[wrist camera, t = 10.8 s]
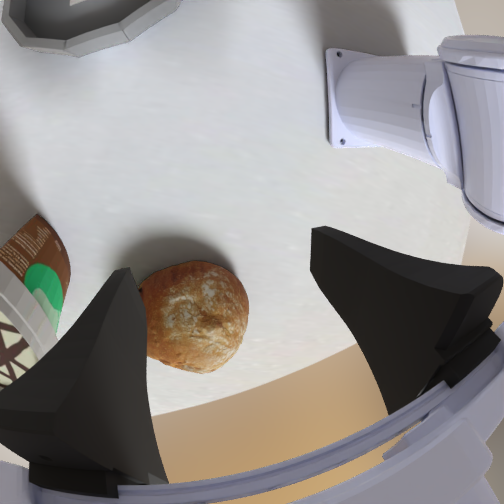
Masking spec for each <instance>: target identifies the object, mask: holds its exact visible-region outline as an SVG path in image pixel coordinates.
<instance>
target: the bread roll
mask: <svg viewBox="0 0 504 504" xmlns="http://www.w3.org/2000/svg"><path fill="white" fill-rule="evenodd" d="M138 291H139V293H140V296H141V298H142V301H143V303H144V306H145V308H146V319H147V356H148V357H150V358H153V359H156V360H159V361H160V362H162V363H163V364H165V365H169V366H172V367H175V368H179V369H182V370H185V371H190V372H195V373H200V374H203V373H209V372H212V371H215V370H217V369H218V368H220V367H222V366H223V365H224V363H226V362H227V361H228V360H229V359H231V358H232V357H233V355H234V354H235V353H236V352H237V350H238V348H239V346H240V344H242V340H243V335H244V333H245V331H246V327H247V323H248V314H249V301H248V297H247V294H246V291H245V289H244V287H243V285H242V283H241V282H240V280H239V279H238V278H237V277H236V276H235V275H233V274H232V273H231V272H229V271H228V270H226V269H225V268H223V267H221V266H218V265H215V264H212V263H208V262H203V261H189V262H186V263H181V264H179V265H175V266H171V267H168V268H166V269H163V270H160V271H157V272H155V273H153V274H151V275H150V276H149V277H148V278H147V279H146V280H144V281H143V282H142V283H141V285H140V287H139V288H138Z"/></svg>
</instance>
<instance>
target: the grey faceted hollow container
mask: <svg viewBox="0 0 504 504" xmlns="http://www.w3.org/2000/svg"><path fill="white" fill-rule="evenodd" d="M181 2H182V0H4V6H3V12H2V23H3V24H4V26H5V27H6V28H7V30H8V31H9V32H10V33H11V35H12V36H13V37H14V39H15V40H16V41H17V43H18V44H19V45H20V46H21V47H25V48H28V49H31V50H35V51H38V52H44V53H53V54H61V55H68V56H74V57H82V56H84V55H87V54H90V53H93V52H96V51H99V50H102V49H105V48H109V47H112V46H116V45H119V44H123V43H127V42H130V41H132V40H133V39H134V38H136V37H137V36H138V35H140V34H141V33H142V32H144V31H145V30H147V29H148V28H150V27H151V26H153V25H154V24H156V23H157V22H159V21H160V20H162V19H163V18H165V17H166V16H168V15H170V14H171V13H173V12H174V11H175V10H176V9H177V8H178V6H179V5H180V3H181Z"/></svg>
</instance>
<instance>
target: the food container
mask: <svg viewBox="0 0 504 504" xmlns="http://www.w3.org/2000/svg"><path fill="white" fill-rule="evenodd" d="M70 275H71V271H70V262H69V257H68V254H67V251H66V249H65V247H64V245H63V242H62V241H61V239H60V238H59V236H58V234H57V233H56V232H55V230H54V229H53V228H52V227H51V226H50V225H49V224H48V223H47V222H46V221H45V220H44V219H43V218H42V217H40V216H39V215H38V214H36V215H35V216H34V217H33V218H32V219H31V220H30V221H29V222H27V223H26V224H25V225H24V226H23V227H22V228H21V229H20V230H19V231H18V232H17V233H16V234H15V235H14V236H13V237H12V238H11V239H10V240H9V241H8V242H7V243H6V244H5V245H4V246H3V247H2V248H1V249H0V391H1V390H2V389H4V388H5V387H6V386H8V385H9V384H11V383H12V382H14V381H15V380H16V379H18V378H19V377H20V376H21V375H23V374H24V373H25V372H26V371H28V370H29V369H30V368H31V367H32V366H33V365H35V364H36V363H37V362H38V361H39V360H40V359H41V358H42V357H43V356H44V355H45V354H46V353H47V352H48V351H49V350H50V349H51V348H52V347H53V346H54V345H56V343H57V342H58V339H57V337H56V332H57V327H58V323H59V319H60V315H61V311H62V307H63V303H64V299H65V296H66V292H67V288H68V285H69V282H70Z"/></svg>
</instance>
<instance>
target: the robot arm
mask: <svg viewBox="0 0 504 504" xmlns="http://www.w3.org/2000/svg"><path fill="white" fill-rule="evenodd" d="M437 51H438V54H439V56H429V55H404V56H382V57H381V56H377V55H372V54H367V53H362V52H357V51H351V50H345V49H339V48H328V49H327V50H326V66H327V81H328V102H329V142H330V145H331V146H332V147H334V148H351V147H384V148H387V149H390V150H393V151H396V152H399V153H401V154H404V155H407V156H410V157H412V158H415V159H417V160H420V161H423V162H425V163H427V164H430V165H432V166H435V167H437V168H439V169H442V170H444V172H445V174H446V178H447V183H449V184H451V185H453V186H455V187H457V188H459V189H461V190H462V199H463V203H464V205H465V208H466V209H467V211H468V212H469V214H470V215H471V216H472V217H473V218H474V219H476V221H478V222H479V223H480V224H482V225H483V226H485V227H486V228H488V229H490V230H492V231H494V232H497V233H500V234H503V235H504V37H499V36H488V35H487V36H486V35H457V36H449V37H445V38H444V39H443V41H442V43H441V45H439V46H438V47H437ZM337 52H338V53H339V54H340V57H338V56H337ZM341 139H343V142H342V144H340V140H341ZM310 271H311V273H312V275H313V277H314V279H315V281H316V283H317V284H318V286H319V288H320V290H321V291H322V292H323V294H324V295H325V297H326V298H327V299H328V301H329V302H330V303H331V305H332V306H333V307H334V309H335V310H336V311H337V313H338V314H339V315H340V317H341V318H342V319H343V321H344V322H345V324H346V325H347V326H348V328H349V329H350V331H351V332H352V334H353V336H354V337H355V339H356V341H357V343H358V345H359V346H360V348H361V350H362V352H363V354H364V356H365V358H366V360H367V362H368V364H369V366H370V368H371V370H372V373H373V375H374V377H375V380H376V381H377V384H378V387H379V389H380V392H381V394H382V397H383V400H384V402H385V405H386V408H387V411H388V415H389V416H387V417H386V418H384V419H382V420H380V421H378V422H376V423H375V424H373V425H371V426H369V427H367V428H365V429H363V430H361V431H359V432H357V433H355V434H353V435H350V436H348V437H346V438H344V439H342V440H339V441H337V442H335V443H332V444H330V445H327V446H325V447H323V448H320V449H318V450H315V451H312V452H310V453H307V454H304V455H301V456H299V457H296V458H292V459H289V460H286V461H283V462H280V463H277V464H273V465H270V466H266V467H263V468H259V469H255V470H251V471H247V472H242V473H238V474H234V475H229V476H224V477H218V478H212V479H206V480H199V481H192V482H184V483H173V484H169V482H168V479H167V476H166V473H165V471H164V467H163V464H162V460H161V457H160V454H159V450H158V446H157V442H156V438H155V434H154V429H153V424H152V419H151V414H150V408H149V401H148V394H147V381H146V363H147V319H146V308H145V306H144V303H143V301H142V298H141V296H140V293H139V291H138V288H137V286H136V283H135V281H134V278H133V275H132V273H131V270H130V267H129V268H124V269H120V270H115V271H114V272H113V273H112V274H111V276H110V277H109V278H108V280H107V281H106V282H105V284H104V285H103V286H102V288H101V289H100V290H99V292H98V293H97V294H96V296H95V297H94V298H93V300H92V301H91V303H90V304H89V305H88V306H87V308H86V309H85V310H84V312H83V313H82V314H81V315H80V317H79V318H78V319H77V321H76V322H75V323H74V324H73V326H72V327H71V328H70V329H69V330H68V331H67V333H66V334H65V335H64V336H63V337H62V338H61V339H60V340H59V341H58V342H57V343H56V345H54V346H53V347H52V348H51V349H50V350H49V351H48V352H47V353H46V354H45V355H44V356H43V357H42V358H41V359H40V360H39V361H38V362H37V363H36V364H35V365H33V366H32V367H31V368H30V369H29V370H28V371H26V372H25V373H24V374H23V375H21V376H20V377H19V378H18V379H16V380H15V381H14V382H12V383H11V384H9V385H8V386H6V387H5V388H4V389H2V390H1V391H0V443H1V444H2V445H4V446H5V447H7V448H8V449H10V450H11V451H13V452H14V453H16V454H17V455H19V456H20V457H22V458H24V459H25V460H27V461H29V469H27V468H25V467H22V466H19V465H16V464H11V463H8V462H5V461H0V504H208V503H215V502H221V501H227V500H233V499H238V498H242V497H247V496H252V495H256V494H260V493H264V492H267V491H271V490H275V489H278V488H282V487H285V486H288V485H291V484H294V483H297V482H300V481H303V480H306V479H308V478H311V477H314V476H317V475H319V474H322V473H324V472H327V471H329V470H331V469H334V468H336V467H339V466H341V465H343V464H345V463H347V462H350V461H352V460H354V459H356V458H358V457H360V456H362V455H364V454H366V453H368V452H370V451H372V450H373V449H375V448H377V447H379V446H381V445H383V444H384V443H386V442H388V441H389V440H391V439H393V438H395V437H396V436H398V435H400V434H401V433H403V432H404V431H406V430H408V429H409V428H411V427H412V426H414V425H415V424H417V423H418V422H420V421H421V420H422V421H421V423H420V424H418V425H417V426H416V427H414V428H413V429H412V430H410V431H409V432H407V433H406V434H405V435H404V436H403V437H402V438H401V440H400V441H399V442H398V443H396V444H395V445H394V446H393V447H391V448H390V449H389V450H388V451H386V452H385V453H383V456H382V457H383V459H384V460H385V461H384V462H382V463H380V464H379V465H377V466H375V467H373V468H371V469H369V470H367V471H365V472H363V473H361V474H359V475H357V476H355V477H353V478H351V479H349V480H347V481H345V482H342V483H340V484H338V485H335V486H333V487H331V488H328V489H326V490H324V491H321V492H319V493H316V494H314V495H311V496H308V497H305V498H303V499H299V500H297V501H294V502H291V503H288V504H500V503H499V501H498V499H497V498H496V496H495V494H494V492H493V490H492V489H491V487H490V485H489V483H488V482H487V480H486V479H485V477H484V474H485V473H486V472H487V470H488V469H489V468H490V467H491V463H492V461H493V454H492V453H491V451H490V450H489V448H488V447H487V445H486V444H485V442H486V441H487V439H488V438H489V437H490V435H491V434H492V433H493V432H494V430H495V429H496V427H497V426H498V424H499V423H500V422H501V421H502V419H503V418H504V322H503V323H502V324H500V325H499V327H498V328H497V329H496V330H495V332H493V331H492V330H491V329H490V327H491V326H492V321H491V320H490V319H489V318H488V316H489V315H490V313H491V311H492V309H493V307H494V305H495V303H496V301H497V299H498V297H499V295H500V293H501V290H502V287H503V277H502V276H501V275H500V274H499V273H498V272H496V271H495V270H494V269H492V268H490V267H484V266H463V265H455V264H447V263H440V262H435V261H430V260H425V259H421V258H417V257H413V256H410V255H406V254H402V253H399V252H396V251H393V250H390V249H387V248H384V247H381V246H379V245H376V244H373V243H371V242H368V241H366V240H363V239H360V238H358V237H355V236H353V235H350V234H348V233H345V232H343V231H340V230H337V229H334V228H331V227H327V226H322V227H317V228H312V233H311V259H310Z"/></svg>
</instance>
